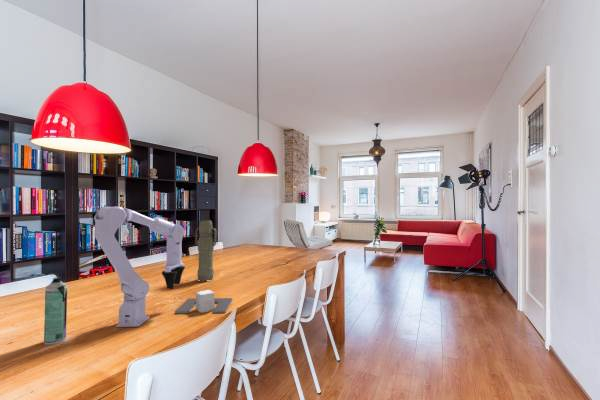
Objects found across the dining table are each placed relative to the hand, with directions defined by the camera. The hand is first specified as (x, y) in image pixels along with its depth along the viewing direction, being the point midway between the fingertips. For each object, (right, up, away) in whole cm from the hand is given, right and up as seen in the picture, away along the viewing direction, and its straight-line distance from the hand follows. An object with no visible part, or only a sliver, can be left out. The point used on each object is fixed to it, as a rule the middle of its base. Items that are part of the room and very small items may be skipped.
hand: (173, 286), depth 128 cm
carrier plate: (+12, -10, +5) cm, 16 cm away
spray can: (-25, -9, -30) cm, 40 cm away
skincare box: (+13, -10, +1) cm, 16 cm away
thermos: (-3, -11, +53) cm, 54 cm away
